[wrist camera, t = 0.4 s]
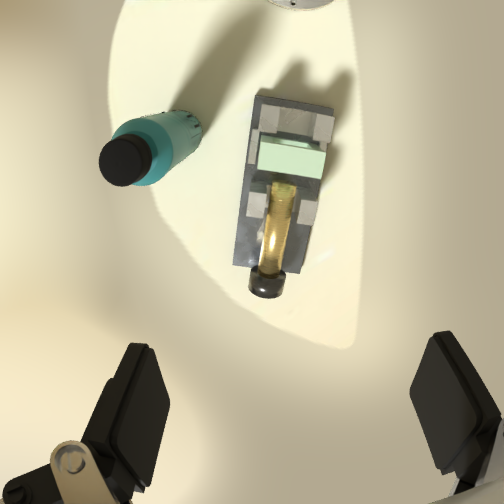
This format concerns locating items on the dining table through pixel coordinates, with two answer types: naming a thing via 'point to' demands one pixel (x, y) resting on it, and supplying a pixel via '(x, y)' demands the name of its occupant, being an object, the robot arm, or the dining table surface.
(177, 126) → the beverage bottle
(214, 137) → the dining table surface
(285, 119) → the rig
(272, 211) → the shaft
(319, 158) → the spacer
